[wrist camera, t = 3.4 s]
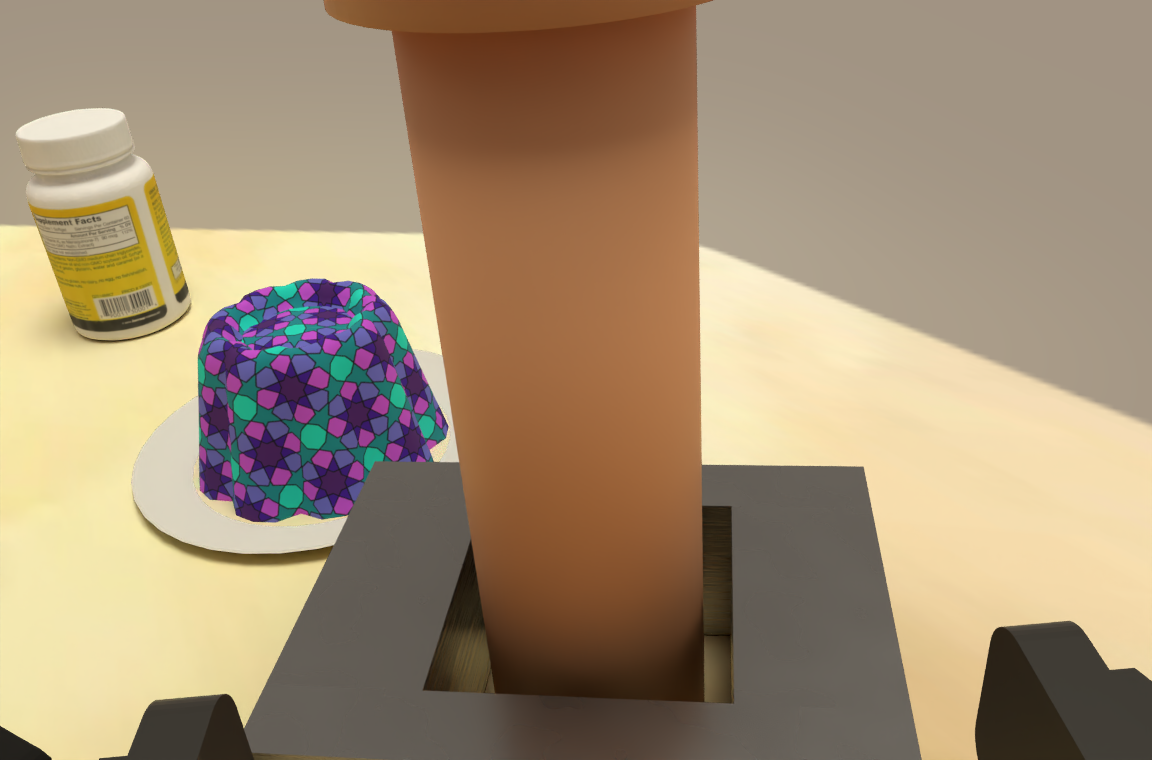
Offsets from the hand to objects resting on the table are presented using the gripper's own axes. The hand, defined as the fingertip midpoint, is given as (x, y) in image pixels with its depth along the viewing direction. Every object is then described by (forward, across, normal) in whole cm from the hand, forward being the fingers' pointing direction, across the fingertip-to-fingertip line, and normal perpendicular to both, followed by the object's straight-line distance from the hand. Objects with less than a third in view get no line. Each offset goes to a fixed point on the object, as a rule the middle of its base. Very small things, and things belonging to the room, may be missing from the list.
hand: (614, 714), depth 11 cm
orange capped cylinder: (+9, 0, +10) cm, 13 cm away
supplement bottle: (+33, +18, +10) cm, 39 cm away
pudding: (+21, +8, +11) cm, 25 cm away
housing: (+9, 0, +10) cm, 13 cm away
